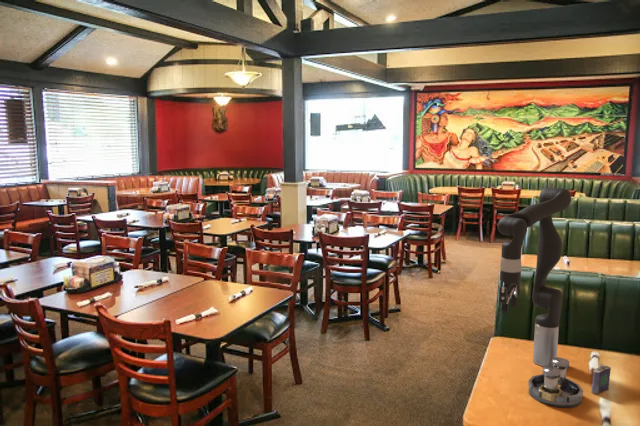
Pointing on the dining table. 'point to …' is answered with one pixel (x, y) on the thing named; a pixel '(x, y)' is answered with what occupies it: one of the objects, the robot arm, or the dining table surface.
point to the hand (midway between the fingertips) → (509, 309)
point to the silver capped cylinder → (551, 378)
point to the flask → (601, 379)
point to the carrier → (566, 389)
